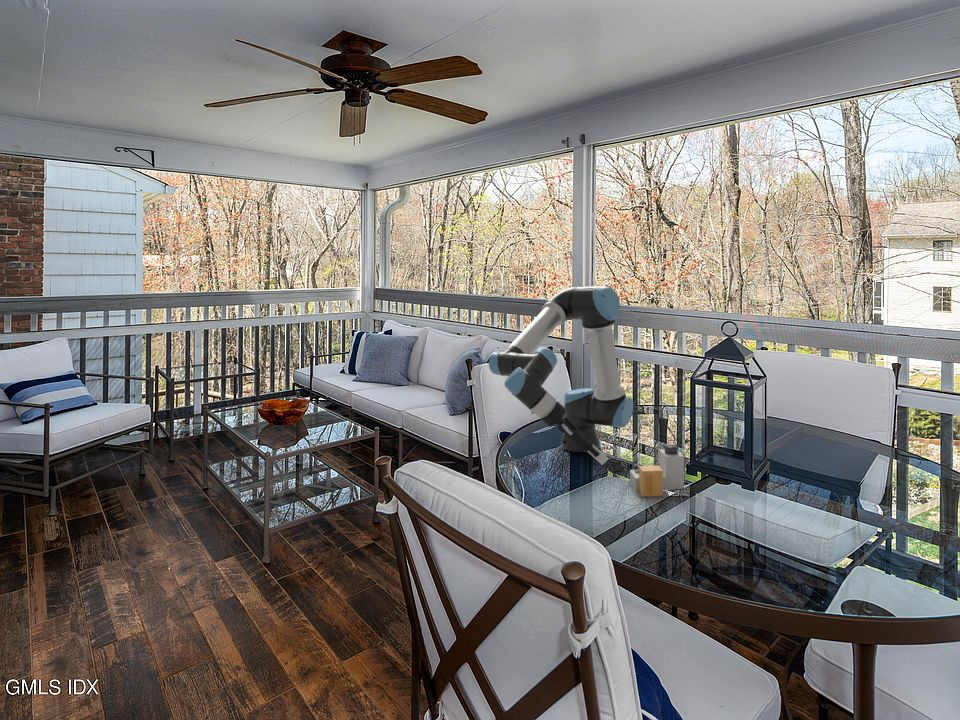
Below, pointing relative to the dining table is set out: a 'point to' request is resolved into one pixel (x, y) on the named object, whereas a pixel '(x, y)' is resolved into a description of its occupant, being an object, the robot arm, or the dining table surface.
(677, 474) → the white small appliance
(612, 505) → the dining table surface
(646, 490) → the orange wooden block
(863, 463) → the dining table surface
